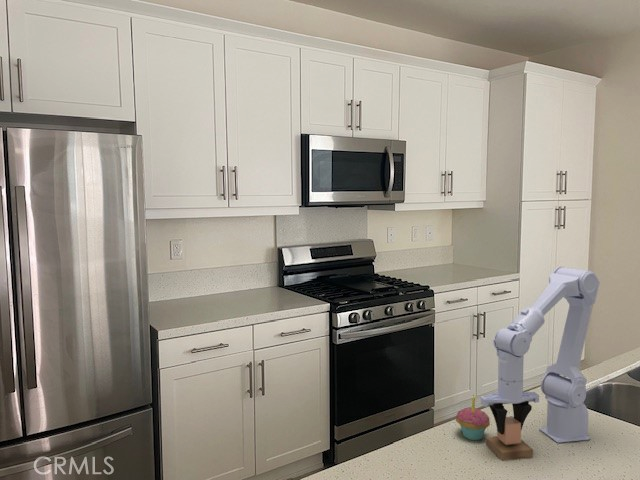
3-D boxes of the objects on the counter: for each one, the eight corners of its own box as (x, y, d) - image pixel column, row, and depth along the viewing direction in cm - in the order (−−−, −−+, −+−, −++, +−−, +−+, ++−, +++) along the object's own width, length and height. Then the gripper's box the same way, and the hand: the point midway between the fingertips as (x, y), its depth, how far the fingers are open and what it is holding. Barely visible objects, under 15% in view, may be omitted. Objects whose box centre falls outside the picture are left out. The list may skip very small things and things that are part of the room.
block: (520, 442, 125) (520, 423, 124) (505, 444, 124) (505, 425, 124) (512, 435, 129) (511, 416, 128) (497, 437, 128) (497, 418, 128)
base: (514, 441, 131) (514, 434, 131) (532, 457, 123) (533, 449, 123) (485, 444, 130) (485, 437, 130) (502, 460, 122) (502, 452, 122)
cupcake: (491, 444, 130) (492, 398, 129) (456, 441, 131) (457, 396, 130) (487, 429, 138) (488, 386, 137) (454, 427, 140) (455, 384, 139)
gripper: (528, 370, 130) (526, 422, 131) (475, 374, 128) (474, 427, 129) (545, 380, 123) (543, 434, 124) (489, 384, 121) (488, 440, 122)
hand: (509, 431), depth 126 cm, fingers closed on block, 4 cm apart
